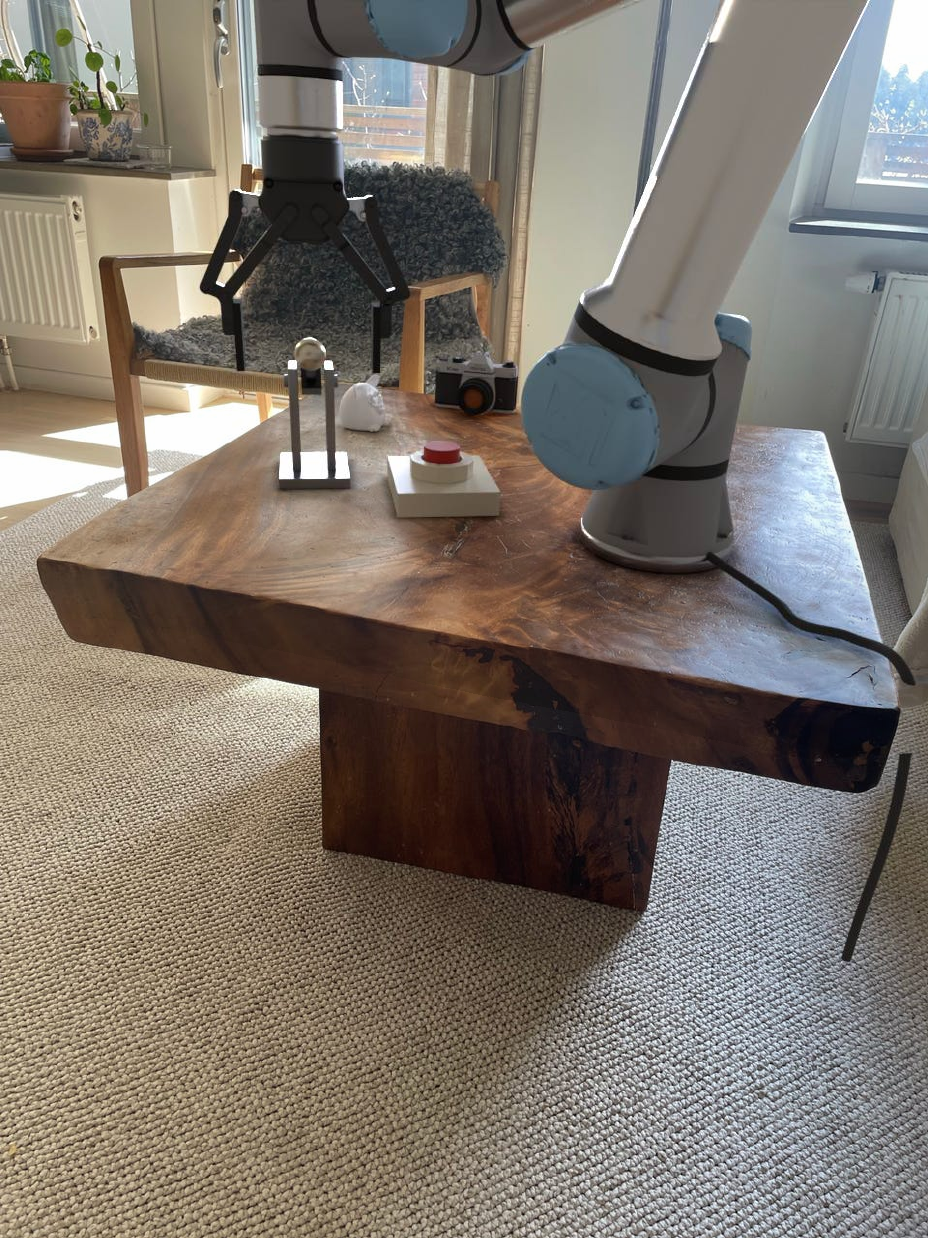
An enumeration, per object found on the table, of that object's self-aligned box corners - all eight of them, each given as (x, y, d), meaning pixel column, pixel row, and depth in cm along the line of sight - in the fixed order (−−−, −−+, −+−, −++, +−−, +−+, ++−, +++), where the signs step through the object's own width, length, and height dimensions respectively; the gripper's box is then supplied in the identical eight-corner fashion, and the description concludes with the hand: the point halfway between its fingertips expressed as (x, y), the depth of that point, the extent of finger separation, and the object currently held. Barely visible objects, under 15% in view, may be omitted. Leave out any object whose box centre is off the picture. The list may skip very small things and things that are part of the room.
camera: (424, 414, 132) (430, 352, 128) (434, 400, 139) (440, 342, 134) (510, 428, 131) (519, 366, 126) (516, 414, 138) (524, 355, 133)
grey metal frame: (350, 488, 102) (348, 375, 96) (279, 489, 100) (272, 374, 94) (346, 461, 110) (344, 355, 104) (281, 461, 109) (275, 355, 103)
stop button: (462, 466, 97) (462, 450, 96) (425, 466, 97) (426, 451, 96) (456, 455, 101) (457, 440, 100) (421, 455, 100) (422, 440, 99)
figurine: (372, 436, 120) (372, 387, 117) (329, 429, 122) (328, 381, 119) (395, 421, 127) (395, 375, 124) (354, 416, 129) (354, 370, 126)
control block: (499, 515, 96) (501, 475, 94) (397, 517, 94) (397, 476, 92) (478, 476, 107) (480, 440, 105) (387, 477, 105) (387, 440, 103)
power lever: (326, 365, 89) (325, 333, 89) (294, 365, 88) (293, 333, 88) (325, 398, 102) (324, 370, 102) (297, 398, 101) (296, 370, 101)
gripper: (431, 141, 87) (425, 363, 96) (165, 126, 82) (187, 359, 92) (442, 141, 80) (434, 379, 90) (154, 125, 76) (178, 375, 86)
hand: (309, 369), depth 91 cm, fingers open, 13 cm apart
